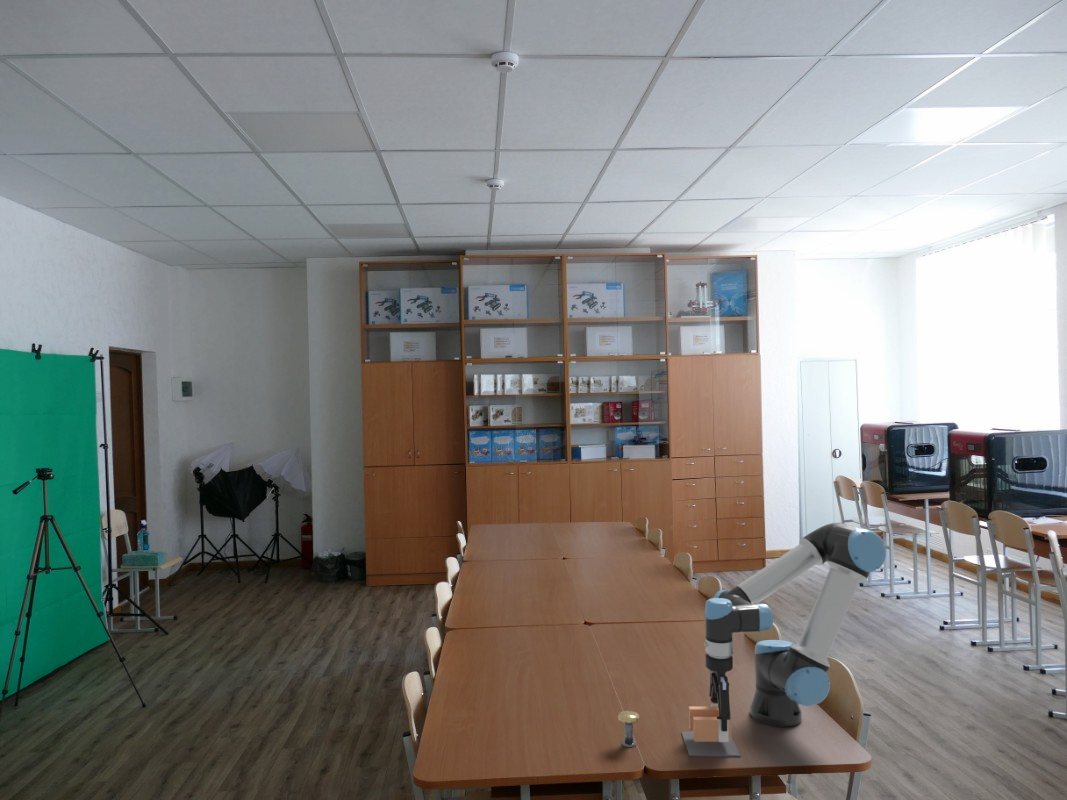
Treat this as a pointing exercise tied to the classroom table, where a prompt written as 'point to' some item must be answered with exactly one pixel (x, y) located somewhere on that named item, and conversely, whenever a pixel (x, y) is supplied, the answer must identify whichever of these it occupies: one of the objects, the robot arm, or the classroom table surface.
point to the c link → (705, 723)
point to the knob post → (628, 726)
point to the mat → (709, 747)
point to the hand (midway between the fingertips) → (719, 733)
